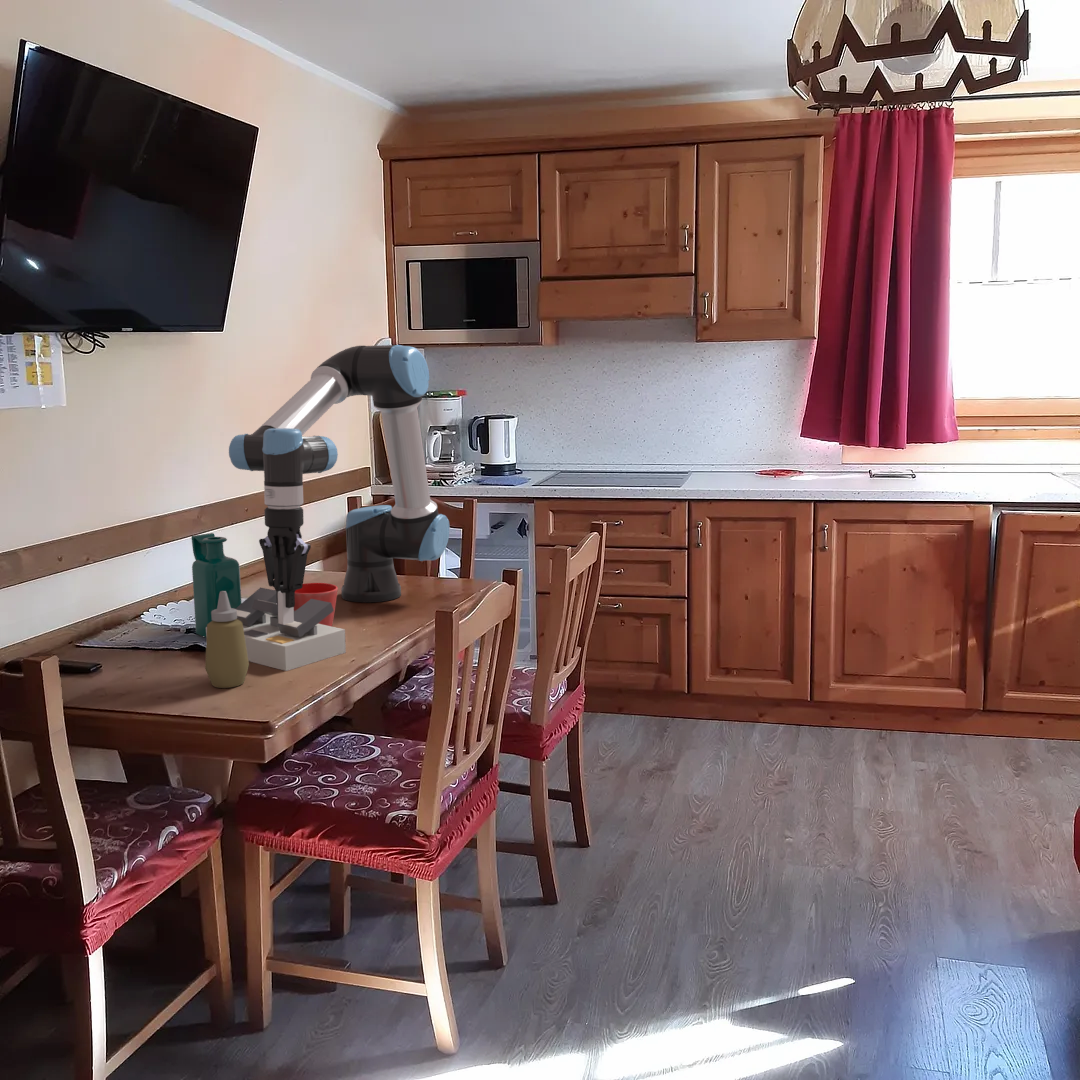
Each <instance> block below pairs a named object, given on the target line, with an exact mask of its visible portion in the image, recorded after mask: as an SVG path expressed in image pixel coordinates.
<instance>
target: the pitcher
mask: <svg viewBox="0 0 1080 1080" xmlns="http://www.w3.org/2000/svg"><path fill="white" fill-rule="evenodd" d="M190 539H191V545H192V553H193V557H194V560H195V561H193V563H192V567H191V573H192V574H191V575H192V587H193V589H192V591H193V603H194V605H193V606H194V607H193V608H194V622H195V623H194V625H195V633H196V635H198V636H200V635H201V636H200V637H203V636H204V637H203V638H206V627H207V624H209V623H210V622H211V621H213V620H212V615H211V611H213V610H215V609H217V606H218V600H219V594H220V591H226V592H227V596H228V599H229V603H230V606H231V608H234V609H236V608H237V607H238V606H239V605H240V604H242V603H243V602H242V589H241V585H242V584H241V570H240V569H241V567H240V563H239V562H238V560H237V559H236V558H233V557H230V556H226V555H225V553H224V552H225V551H224V543H225V542H227V541H228V538H227V537H226V536H225V537H224V536H215V534H214V532H210V533H204V534H202V533H201V534H197V535H192V536H191V537H190Z"/></svg>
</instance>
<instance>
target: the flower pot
mask: <svg viewBox="0 0 1080 1080" xmlns="http://www.w3.org/2000/svg"><path fill="white" fill-rule="evenodd" d="M338 590H339V588H338V586H337V585H335V584H333V583H332V584H331V583H328V582H327V583H326V582H307V583H303V587H302V588H301V589H298V590H296V591H295V606H294V611H296V610H297V609H298V608H300V607H301V606H302V605H304V604H305V603H306V602H308V601H309V600H310V599H315V600H320V601H325V602H330V603H331V604H332V607H333V609H334V611H333V612H332V613H331V614H329V615H328V616H327V617H325V618H324V619H323V620H322V621H320V622H319V623H318V624H322V625H327V626H332V627H333V624H334V623H333V622H334V619H335V618H334V616H335V611H336V605H337V604H336V603H337V598H338Z"/></svg>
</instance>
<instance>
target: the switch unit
mask: <svg viewBox="0 0 1080 1080" xmlns="http://www.w3.org/2000/svg"><path fill="white" fill-rule="evenodd" d="M277 624H279V623H278V617H275V616H272V615H269V614H266V613H265V614H264V615H263V616H262V617H260V618H259V619H258V620H257V621H256V622H255V623H254V624H252V625H251V626H250V627H248V626H244V625H243V630H244V636H245V642H246V649H247V655H248V661H249V662H250V663H254V664H258V665H260V666H261V665H262V666H264V667H265V666H266V667H269V668H273V669H278V670H279V671H284V672H287V671H291V670H294V669H297V668H301V667H304V666H308V665H310V664H314V663H316V662H317V663H318V662H319V661H323V660H326V659H330V658H332V657H336V656H339V655H342V654H346V651H347V650H346V649H347V647H346V629H345V628H340V627H335V626H333V625H332V626H327V625H322V624H317V625H315V626H314V627H313V628H312V629H310V630H309V631H308V632H306V633H305V634H304V635H303V636H301V637H296V636H292V635H288V634H283V633H280V631H279V628H278V625H277ZM205 639H207V627H206V637H205Z"/></svg>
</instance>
